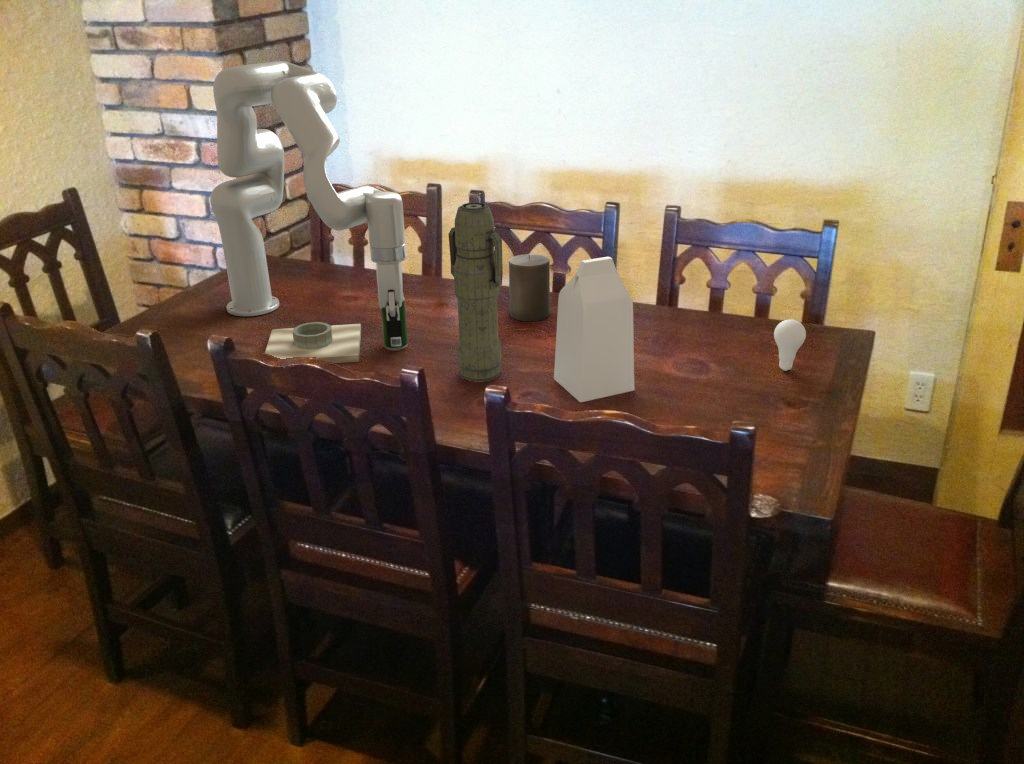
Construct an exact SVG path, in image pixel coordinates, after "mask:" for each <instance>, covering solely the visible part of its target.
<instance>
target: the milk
mask: <svg viewBox="0 0 1024 764" xmlns="http://www.w3.org/2000/svg"><path fill="white" fill-rule="evenodd" d="M616 268H617V267H616V265H615V263H614V260H613V258H612V257H611V256H604V257H596V258H590V259H583V260H581V261H580V263H579V265H578V267H577V270H576V272H575V274H574V276H573V277H572V278H571V279H570V280H569V281H568V282H567V283H566V284H565V285H564V286H563V287H562V288H561V289H560V291H559V294H558V298H557V299H558V302H557V315H556V316H557V319H556V335H555V351H554V352H555V354H554V371H553V372H554V373H553V380H554V381H556V383H558V384H559V385H560V386H561V387H562V388H563V389H565V391H567V392H568V393H569V394H570V395H571V396H572V397H573V398H574V399H576V400H577V401H578V402H579V403H584V402H588V401H593V400H598V399H602V398H605V397H611V396H615V395H619V394H624V393H628V392H634V391H635V351H634V350H635V346H634V342H635V341H634V333H635V331H634V303H633V299H632V297H631V295H630V292H629V291H628V289H627V287H626V286H625V283H624V282H623V280H622V278H621V276H620V274H619V273H618V271H617V269H616Z"/></svg>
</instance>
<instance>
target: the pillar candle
mask: <svg viewBox="0 0 1024 764" xmlns="http://www.w3.org/2000/svg"><path fill="white" fill-rule="evenodd" d="M550 266H551V265H550V258H549V257H548V256H545V255H542V254H537V253H536V254H535V253H534V254H533V253H528V254H527V253H526V254H518V255H514V256H512V257H510V258H508V279H509V281H508V282H509V284H508V291H509V292H508V296H509V297H508V298H509V300H508V301H509V316H510V317H511V318H513V319H514V320H519V321H522V322H539V321H541V320H546V319H547V318H549V316H550V314H551V308H550V307H551V305H550V304H551V301H550V300H551V299H550V298H551V297H550V295H551V294H550V293H551V291H550V290H551V286H550V285H551V284H550V282H551V281H550V280H551V279H550V277H551V274H550V268H551V267H550Z"/></svg>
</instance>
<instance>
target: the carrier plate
mask: <svg viewBox="0 0 1024 764" xmlns="http://www.w3.org/2000/svg"><path fill="white" fill-rule="evenodd" d="M361 336H362V325H361V323H352V324H350V323H349V324H348V323H347V324H335V325H334V324H333V325H330V324H328V323H327V322H321V321H315V322H314V321H313V322H312V321H311V322H305V323H302V324H299V325H296V326H295V327H291V328H290V327H288V328H287V327H286V328H275V329H274V328H273V329H272V330H271V332H270V335H269V338H268V341H267V345H266V348H265V351H264V354H265V353H266V354H269V355H272V356H274V357H277V358H280V359H286V358H293V357H316V358H320V359H324V360H328V361H331V362H334V363H333V364H341V363H342V364H343V363H357V362H359V361H360V351H361V349H360V348H361Z"/></svg>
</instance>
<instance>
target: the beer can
mask: <svg viewBox="0 0 1024 764" xmlns="http://www.w3.org/2000/svg"><path fill="white" fill-rule="evenodd" d="M394 296H395V292H394ZM405 298H406V297H404V292H402V306H401V307H399V314H400V319H401V324H402V337H392V338H388V337H387V326H386V320H387V313H386V306H385V307H382V309H381V308H380V317H381V329H382V340H383V346H384V347H385V348H386V350H388V351H401V350H404V349H406V348H407V347H408V344H409V338H408V337H409V336H408V326H407V325H408V323H407V314H406V313H407V312H406V299H405ZM387 302H388V301H387ZM396 305H397V303H395V306H396ZM388 306H389V304H388ZM395 311H396V312H397V309H395Z"/></svg>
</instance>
